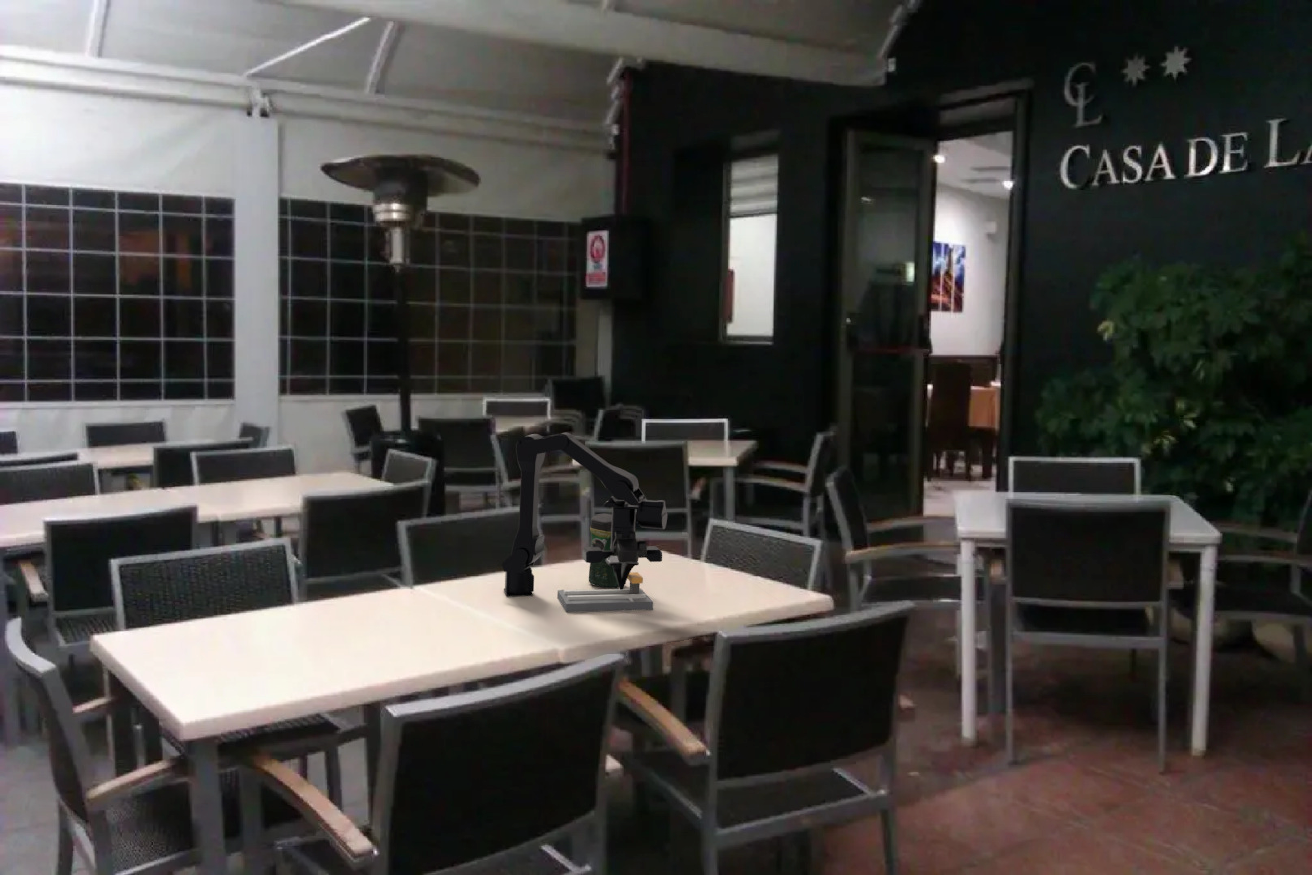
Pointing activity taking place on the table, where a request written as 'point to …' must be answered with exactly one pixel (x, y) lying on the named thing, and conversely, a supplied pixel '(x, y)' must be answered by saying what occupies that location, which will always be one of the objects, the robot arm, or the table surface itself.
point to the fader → (634, 582)
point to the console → (603, 600)
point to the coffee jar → (601, 538)
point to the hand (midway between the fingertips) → (621, 589)
